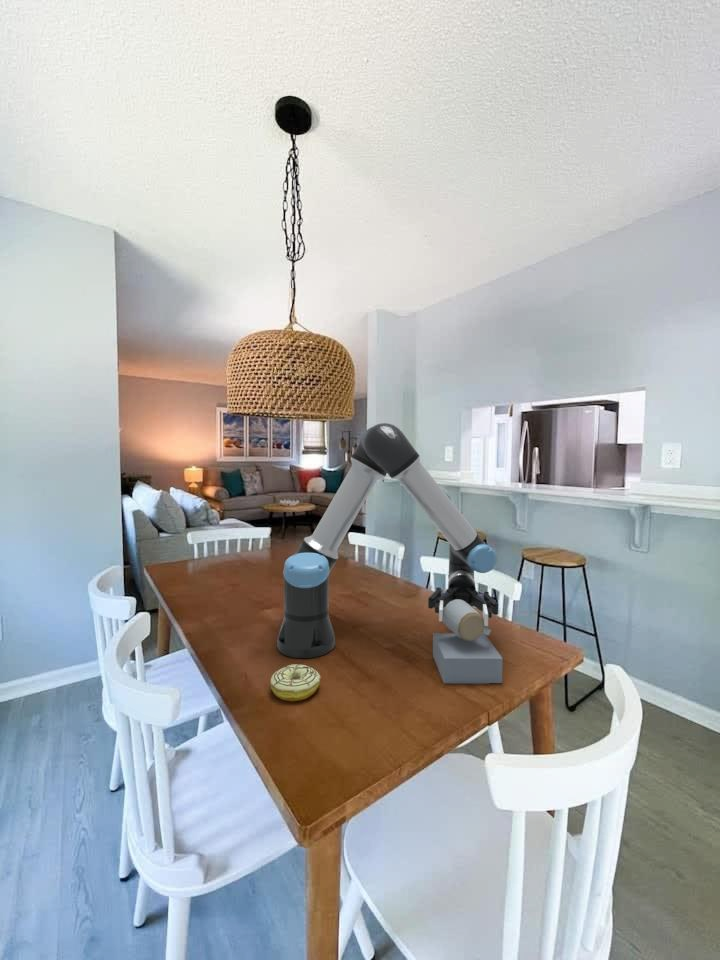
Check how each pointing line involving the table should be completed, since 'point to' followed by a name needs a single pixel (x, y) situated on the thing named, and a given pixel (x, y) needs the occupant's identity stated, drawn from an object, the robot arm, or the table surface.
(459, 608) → the ceramic mug
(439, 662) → the riser block
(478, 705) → the table surface
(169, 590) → the table surface
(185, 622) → the table surface
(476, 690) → the table surface
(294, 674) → the decorated donut
